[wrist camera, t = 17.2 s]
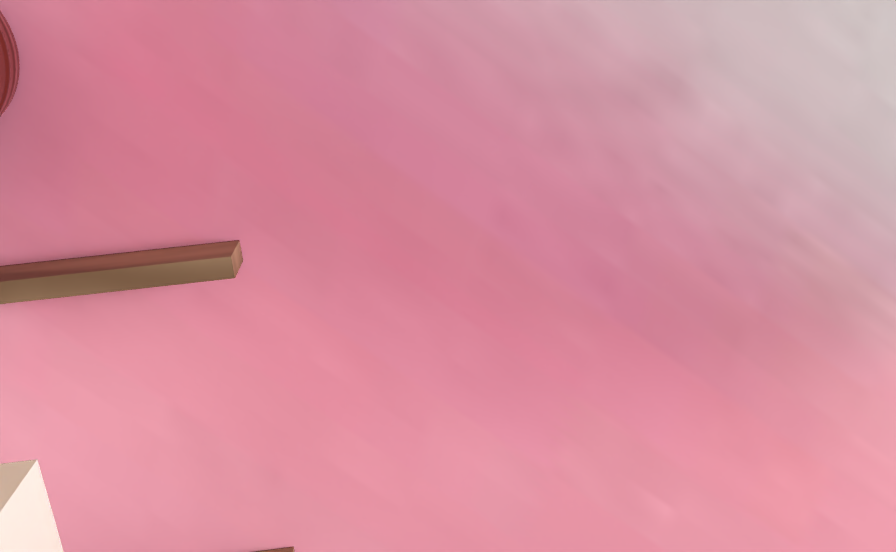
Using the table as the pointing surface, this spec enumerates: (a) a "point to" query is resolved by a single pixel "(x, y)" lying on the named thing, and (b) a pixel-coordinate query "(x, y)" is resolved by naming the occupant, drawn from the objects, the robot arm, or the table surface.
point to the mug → (7, 64)
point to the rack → (121, 275)
